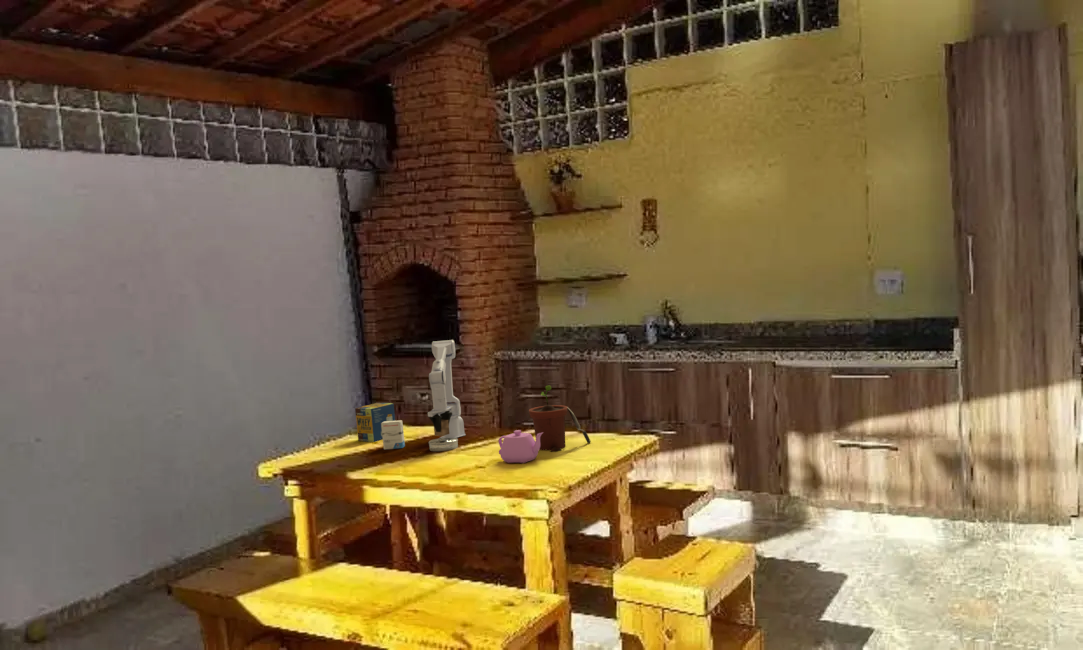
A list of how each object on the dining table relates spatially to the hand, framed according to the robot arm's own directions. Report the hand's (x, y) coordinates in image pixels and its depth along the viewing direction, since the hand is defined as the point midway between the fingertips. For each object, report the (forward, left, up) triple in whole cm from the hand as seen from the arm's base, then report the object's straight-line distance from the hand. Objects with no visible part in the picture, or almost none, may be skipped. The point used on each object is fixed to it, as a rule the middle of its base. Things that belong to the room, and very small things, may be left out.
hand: (442, 430), depth 377 cm
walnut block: (0, 0, -2) cm, 2 cm away
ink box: (+6, -24, -8) cm, 26 cm away
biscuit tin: (0, 0, -8) cm, 8 cm away
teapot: (+9, +50, -8) cm, 51 cm away
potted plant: (-16, +49, -8) cm, 52 cm away
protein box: (-8, -50, -8) cm, 51 cm away
